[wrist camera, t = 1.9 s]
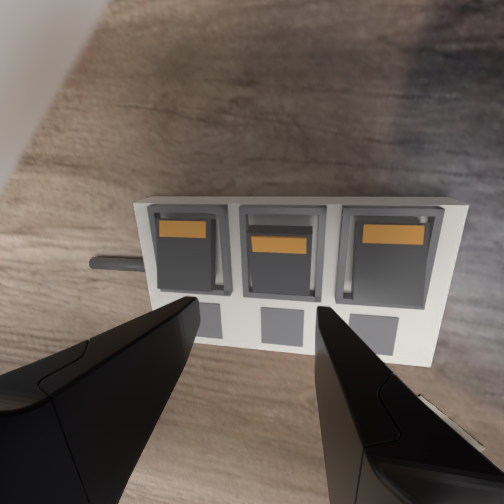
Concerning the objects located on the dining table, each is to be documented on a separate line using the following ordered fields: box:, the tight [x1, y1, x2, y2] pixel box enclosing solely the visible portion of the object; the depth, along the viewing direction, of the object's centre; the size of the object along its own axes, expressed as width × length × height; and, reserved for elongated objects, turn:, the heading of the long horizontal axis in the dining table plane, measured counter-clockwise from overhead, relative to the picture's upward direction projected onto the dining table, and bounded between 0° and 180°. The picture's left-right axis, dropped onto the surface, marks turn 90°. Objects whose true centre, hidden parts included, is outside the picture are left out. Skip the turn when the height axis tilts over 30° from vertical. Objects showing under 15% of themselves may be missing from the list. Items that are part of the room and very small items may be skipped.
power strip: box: [89, 196, 469, 367], centre depth 21 cm, size 26×11×3 cm, turn 92°
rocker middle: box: [246, 225, 313, 296], centre depth 17 cm, size 4×4×1 cm
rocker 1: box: [156, 218, 216, 292], centre depth 18 cm, size 4×4×1 cm
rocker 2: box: [351, 222, 430, 307], centre depth 16 cm, size 4×4×1 cm
